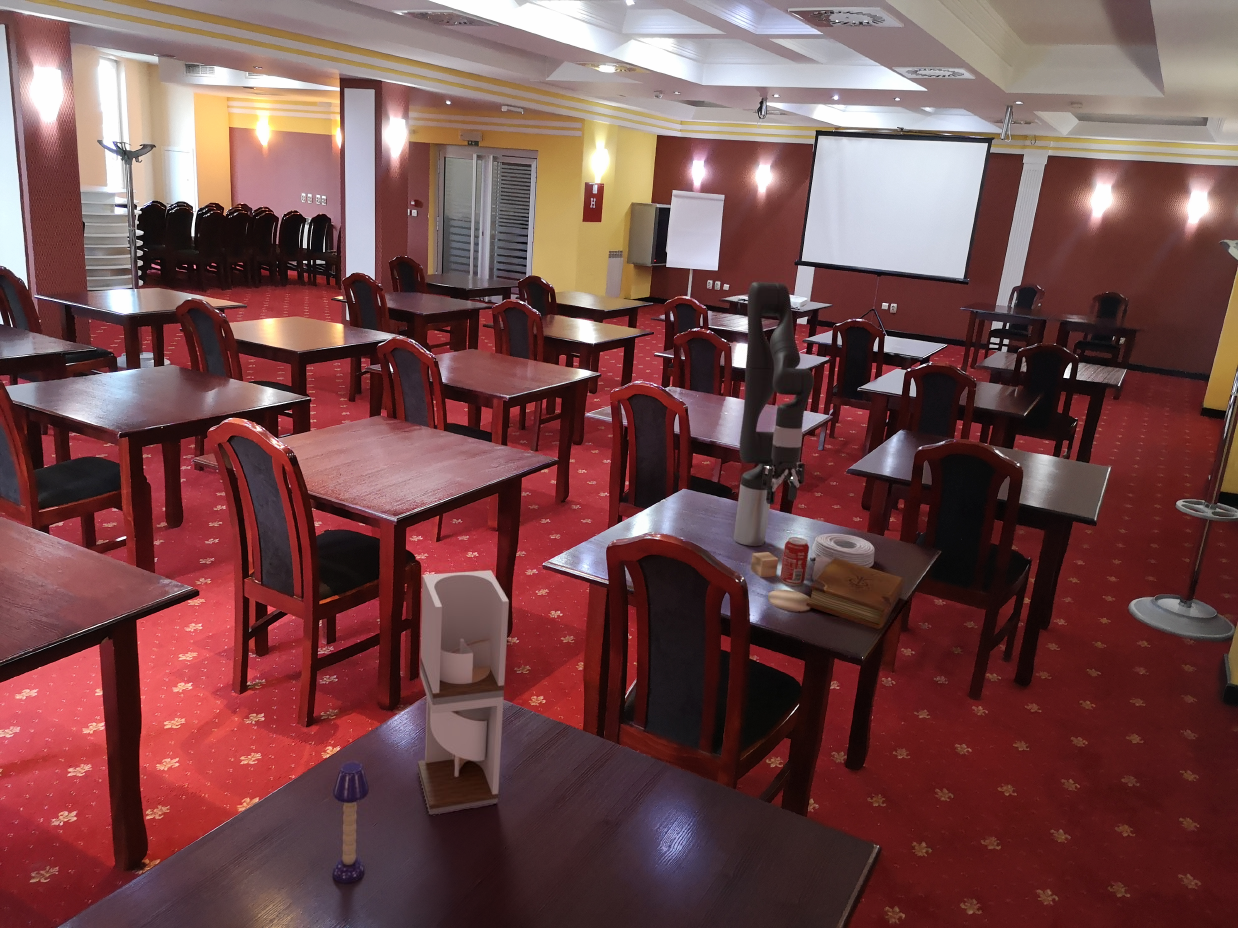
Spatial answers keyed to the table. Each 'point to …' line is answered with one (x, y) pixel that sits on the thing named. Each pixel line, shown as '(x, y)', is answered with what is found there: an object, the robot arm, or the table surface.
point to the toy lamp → (350, 819)
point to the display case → (462, 688)
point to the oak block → (764, 564)
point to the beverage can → (794, 561)
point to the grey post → (820, 566)
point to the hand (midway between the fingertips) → (781, 502)
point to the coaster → (789, 600)
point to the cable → (844, 549)
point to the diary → (856, 592)
